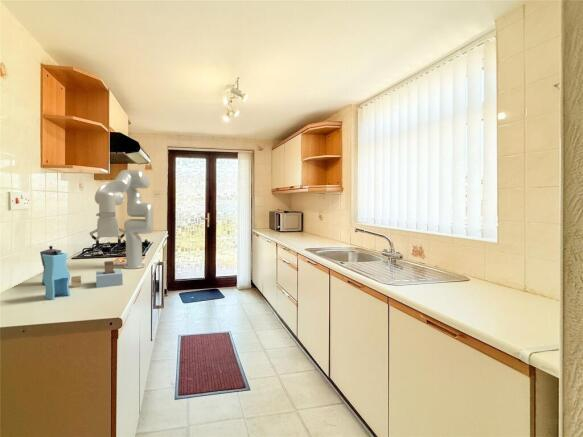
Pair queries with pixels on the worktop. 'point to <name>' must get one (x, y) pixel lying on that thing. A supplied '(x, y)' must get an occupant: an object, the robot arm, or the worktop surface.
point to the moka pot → (51, 253)
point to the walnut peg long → (108, 267)
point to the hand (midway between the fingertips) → (108, 247)
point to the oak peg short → (76, 281)
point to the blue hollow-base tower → (56, 275)
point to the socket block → (108, 279)
